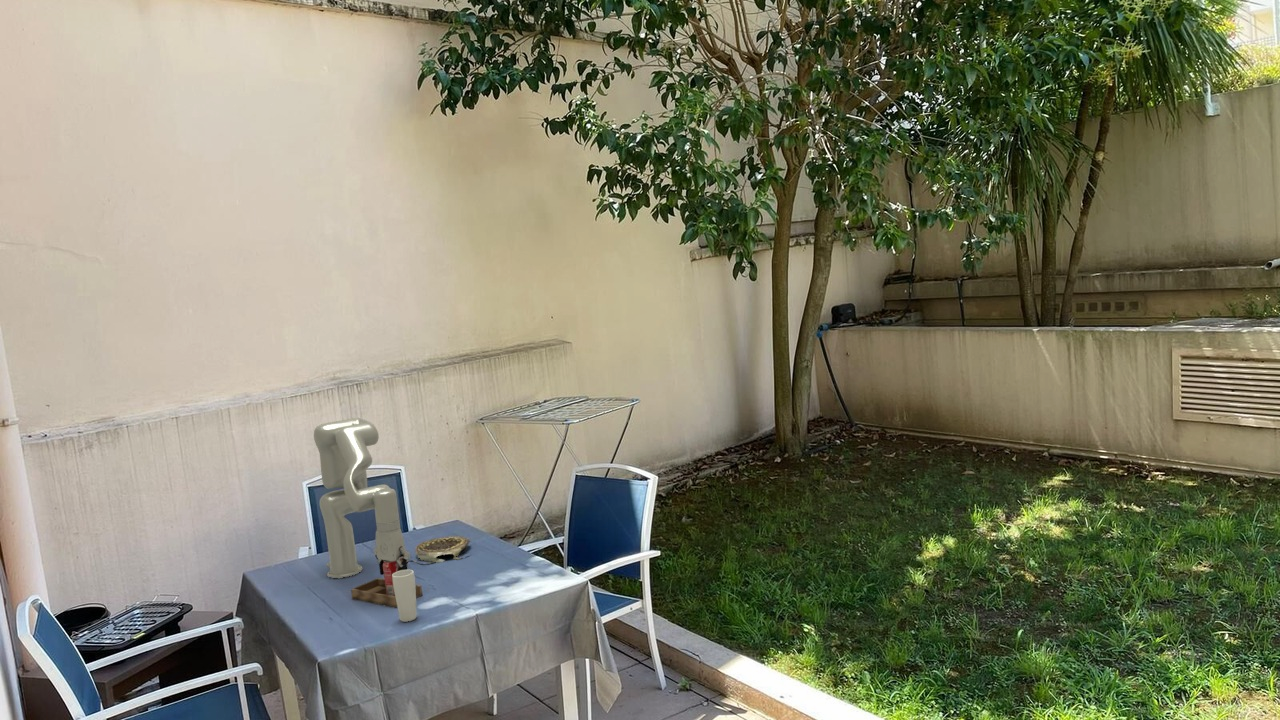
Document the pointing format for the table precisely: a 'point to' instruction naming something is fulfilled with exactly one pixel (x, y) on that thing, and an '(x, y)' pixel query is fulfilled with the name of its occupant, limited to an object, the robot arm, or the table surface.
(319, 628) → the table surface
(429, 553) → the pie
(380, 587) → the wooden compartment tray
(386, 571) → the soda can
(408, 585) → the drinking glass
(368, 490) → the robot arm
